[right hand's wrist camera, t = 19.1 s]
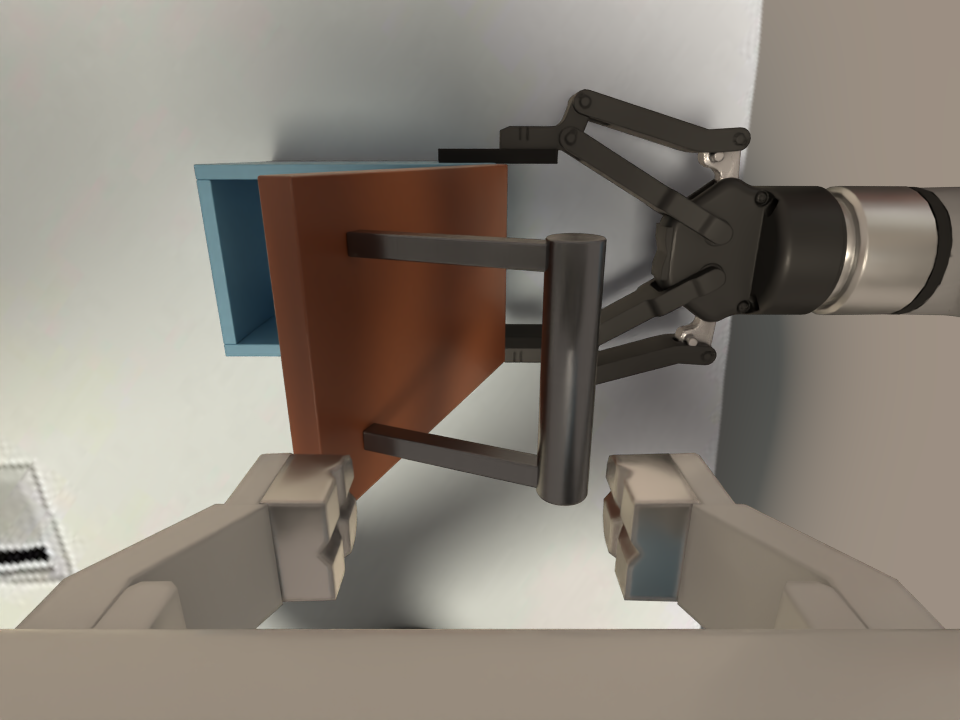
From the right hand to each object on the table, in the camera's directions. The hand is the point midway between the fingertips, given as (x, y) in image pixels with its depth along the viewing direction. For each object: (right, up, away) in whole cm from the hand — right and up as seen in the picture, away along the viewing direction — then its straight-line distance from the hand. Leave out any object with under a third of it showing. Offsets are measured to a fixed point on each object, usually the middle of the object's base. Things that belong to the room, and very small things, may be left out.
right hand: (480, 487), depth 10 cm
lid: (-3, +5, +12) cm, 13 cm away
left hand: (-2, +9, +24) cm, 25 cm away
